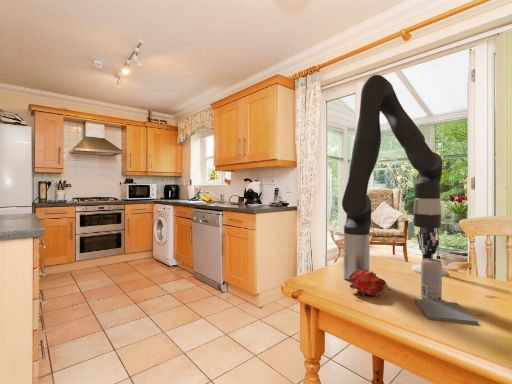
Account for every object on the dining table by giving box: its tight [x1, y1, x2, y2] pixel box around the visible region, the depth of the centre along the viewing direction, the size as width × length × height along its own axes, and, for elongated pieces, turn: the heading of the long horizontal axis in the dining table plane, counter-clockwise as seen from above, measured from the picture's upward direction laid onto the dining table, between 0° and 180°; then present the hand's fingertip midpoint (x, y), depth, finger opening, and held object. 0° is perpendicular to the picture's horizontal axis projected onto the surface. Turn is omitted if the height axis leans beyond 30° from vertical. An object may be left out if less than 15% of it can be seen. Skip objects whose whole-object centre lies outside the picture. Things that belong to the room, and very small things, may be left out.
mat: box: [414, 298, 479, 325], centre depth 75 cm, size 11×12×1 cm
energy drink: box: [420, 258, 443, 301], centre depth 84 cm, size 5×5×12 cm
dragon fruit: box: [347, 269, 389, 298], centre depth 88 cm, size 8×8×12 cm
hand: (427, 265), depth 88 cm, fingers closed
